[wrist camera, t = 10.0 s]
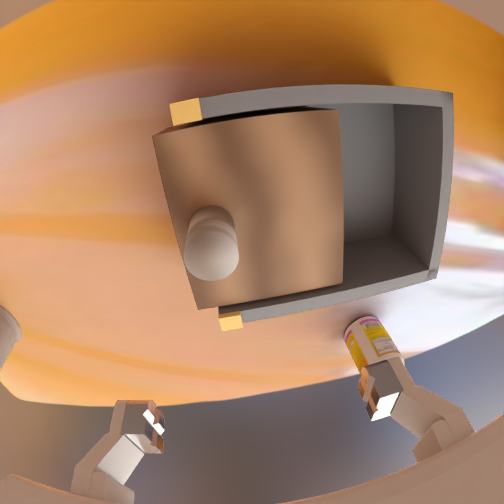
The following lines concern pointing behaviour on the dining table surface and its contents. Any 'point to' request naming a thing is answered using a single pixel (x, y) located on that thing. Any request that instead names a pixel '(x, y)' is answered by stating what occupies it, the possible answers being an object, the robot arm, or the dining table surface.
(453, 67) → the dining table surface
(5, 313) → the glass holder
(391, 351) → the supplement bottle
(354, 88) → the bay
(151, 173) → the dining table surface
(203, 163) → the wooden block with knob
